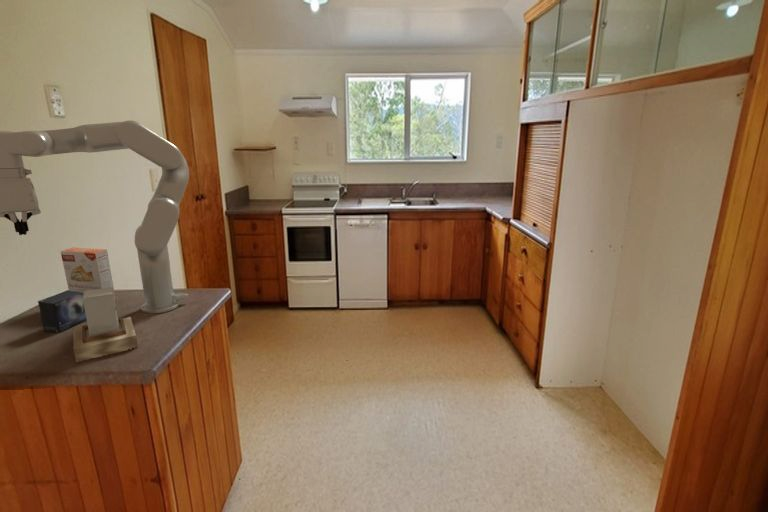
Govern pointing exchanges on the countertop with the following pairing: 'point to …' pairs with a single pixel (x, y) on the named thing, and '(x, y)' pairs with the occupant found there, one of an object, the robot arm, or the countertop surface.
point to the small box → (62, 311)
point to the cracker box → (87, 269)
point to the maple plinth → (104, 341)
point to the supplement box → (100, 311)
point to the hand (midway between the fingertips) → (23, 234)
